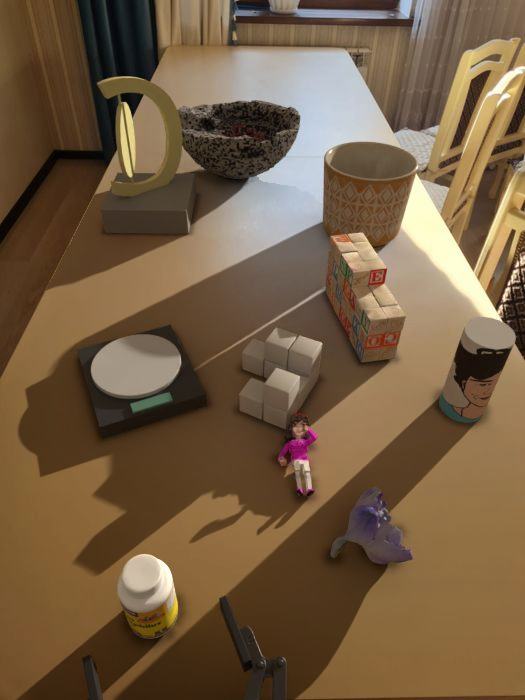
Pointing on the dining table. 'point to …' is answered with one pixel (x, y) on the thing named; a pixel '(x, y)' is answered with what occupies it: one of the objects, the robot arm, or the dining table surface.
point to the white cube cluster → (279, 375)
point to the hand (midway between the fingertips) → (158, 629)
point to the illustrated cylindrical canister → (476, 368)
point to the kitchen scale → (139, 379)
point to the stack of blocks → (363, 297)
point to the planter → (367, 189)
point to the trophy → (147, 188)
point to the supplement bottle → (148, 596)
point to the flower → (373, 531)
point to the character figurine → (299, 449)
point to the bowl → (238, 136)
